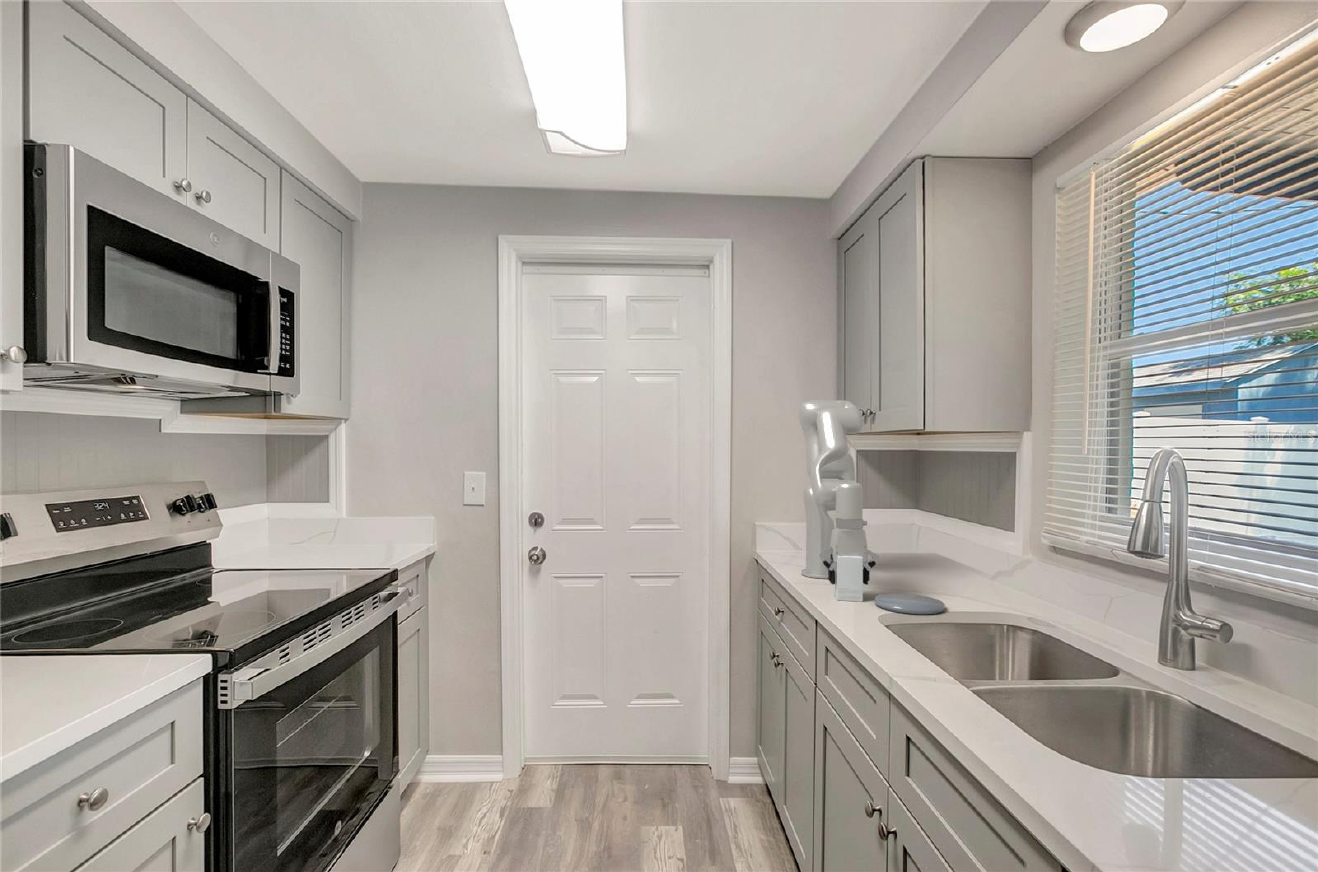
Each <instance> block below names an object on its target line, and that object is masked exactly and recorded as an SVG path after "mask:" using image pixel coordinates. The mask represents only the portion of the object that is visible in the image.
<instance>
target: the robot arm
mask: <svg viewBox="0 0 1318 872" xmlns="http://www.w3.org/2000/svg"><path fill="white" fill-rule="evenodd" d="M798 413H799V414H798V415H799V416H798V417H799V423H800V426H801V430H802V433H803V435H804V438H805V457H806V458H805V459H806V471H807V474H808V476H809V478H810V483H808V484H807V485H806V486H805V487H804V489H803V503H804V508H805V509H804V510H805V568H803V569H802V570H801V575H802V576H804V577H808V578H814V579H828V581H829V583H830V584H831V585H835V567H836V566H837V557H838V556H859V557H863V585H866V586H868V585H869V582H870V571H871V570H872V568H873V567H875V566H876V564H877V562H878V560H879V558H880V555H878V554H877V553H875V552H873V551H871V550H869V549H868V542H867V537H866V531H865V529H864V526H867V525H868V521H867V520H864V519H863V494H864V493H863V485H862V484H861V483H859V482H857V481H856V470H855V469H856V467H855V462H854V461H855V460H854V458H853V457H852V455H851V454H850V453H849V445H848V438H847V434H848V435H849V434H851V435H853V434H858V433H860V432H861V431H862V429H863V425H864V424H863V423H864V420H863V416H862V413H861V411H860V409H859V408H858V407H857V406H856V405H854V403H853V402H851V401H849V400H843V399H841V400H840V399H838V400H837V399H835V400H834V399H812V400H806V401H804V402H803V403H802V404H801V405H800V407H799V412H798ZM831 511H833V512H834V511H835V522H834V520H833V518H832V517H831V516H830V515H829V514H828V512H831ZM869 556H870V557H871V559H870V560H869V562H868V559H869V558H868V557H869Z"/></svg>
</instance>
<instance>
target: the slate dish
mask: <svg viewBox="0 0 1318 872" xmlns="http://www.w3.org/2000/svg"><path fill="white" fill-rule="evenodd" d="M874 604H875V606H877V607H879V608H882V609H884V610H887V611H891V612H898V613H900V614H901V613H903V614H912V615H934V614H935V615H936V614H939V613H943V612H944V611H945V609H946V608H945V606H946V604H945V603H944V601H942V600H940V599H937V598H934V597H930V596H926V595H921V594H920V595H919V594H914V593H912V594H911V593H901V592H900V593H897V592H894V593H882V594H881V593H880V594H878V595H876V596H874Z"/></svg>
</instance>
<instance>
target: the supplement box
mask: <svg viewBox="0 0 1318 872" xmlns="http://www.w3.org/2000/svg"><path fill="white" fill-rule="evenodd" d="M863 569H864V567H863V557H859V556H838V557H837V566H836V567H835V584H834V596H835V599H836V601H843V602H844V601H845V602H861V603H862V602H863V601H864V583H863Z"/></svg>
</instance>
